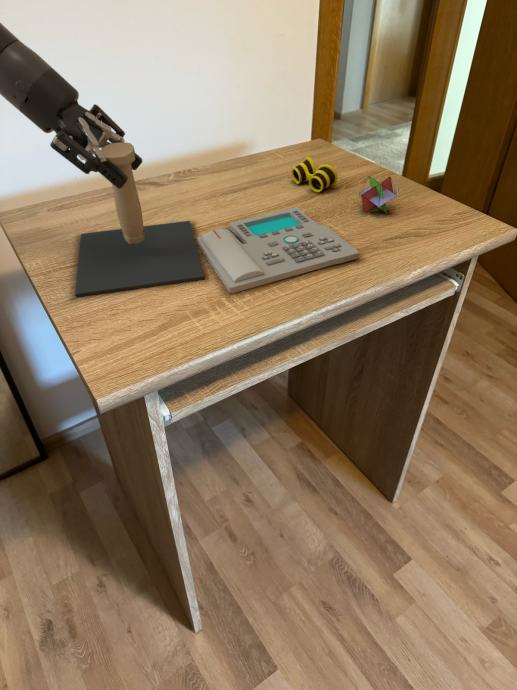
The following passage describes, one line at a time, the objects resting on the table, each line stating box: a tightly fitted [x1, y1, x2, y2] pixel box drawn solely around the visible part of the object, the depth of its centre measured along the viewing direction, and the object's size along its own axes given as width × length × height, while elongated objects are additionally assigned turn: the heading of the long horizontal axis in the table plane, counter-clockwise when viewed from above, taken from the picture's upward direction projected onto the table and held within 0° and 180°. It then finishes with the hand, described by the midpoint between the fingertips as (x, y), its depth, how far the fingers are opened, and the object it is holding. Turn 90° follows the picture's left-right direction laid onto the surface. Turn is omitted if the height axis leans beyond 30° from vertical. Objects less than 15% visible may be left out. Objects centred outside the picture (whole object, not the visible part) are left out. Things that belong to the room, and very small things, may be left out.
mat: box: [74, 220, 206, 298], centre depth 83 cm, size 20×20×1 cm
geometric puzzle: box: [358, 175, 400, 214], centre depth 93 cm, size 7×7×8 cm
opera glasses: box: [290, 156, 339, 193], centre depth 104 cm, size 10×5×5 cm, turn 39°
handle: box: [100, 141, 144, 244], centre depth 77 cm, size 5×6×15 cm
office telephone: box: [197, 207, 360, 294], centre depth 84 cm, size 23×3×20 cm
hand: (131, 174), depth 74 cm, fingers closed on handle, 6 cm apart
